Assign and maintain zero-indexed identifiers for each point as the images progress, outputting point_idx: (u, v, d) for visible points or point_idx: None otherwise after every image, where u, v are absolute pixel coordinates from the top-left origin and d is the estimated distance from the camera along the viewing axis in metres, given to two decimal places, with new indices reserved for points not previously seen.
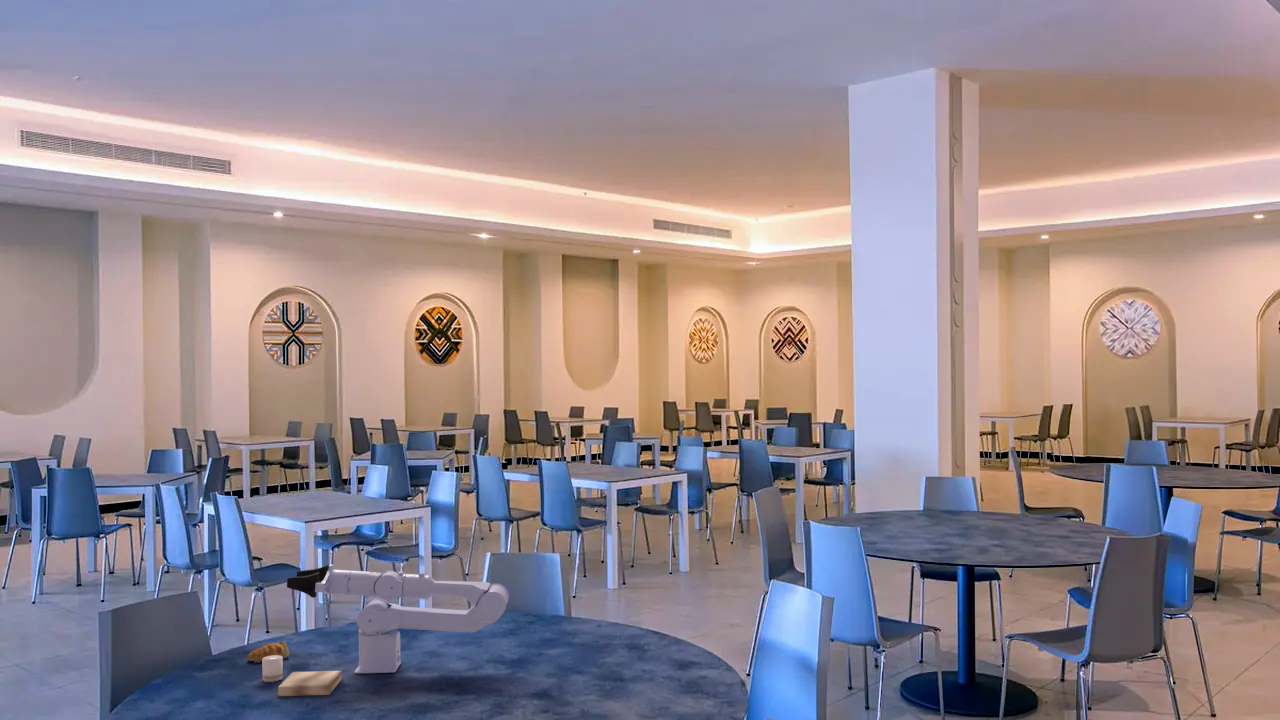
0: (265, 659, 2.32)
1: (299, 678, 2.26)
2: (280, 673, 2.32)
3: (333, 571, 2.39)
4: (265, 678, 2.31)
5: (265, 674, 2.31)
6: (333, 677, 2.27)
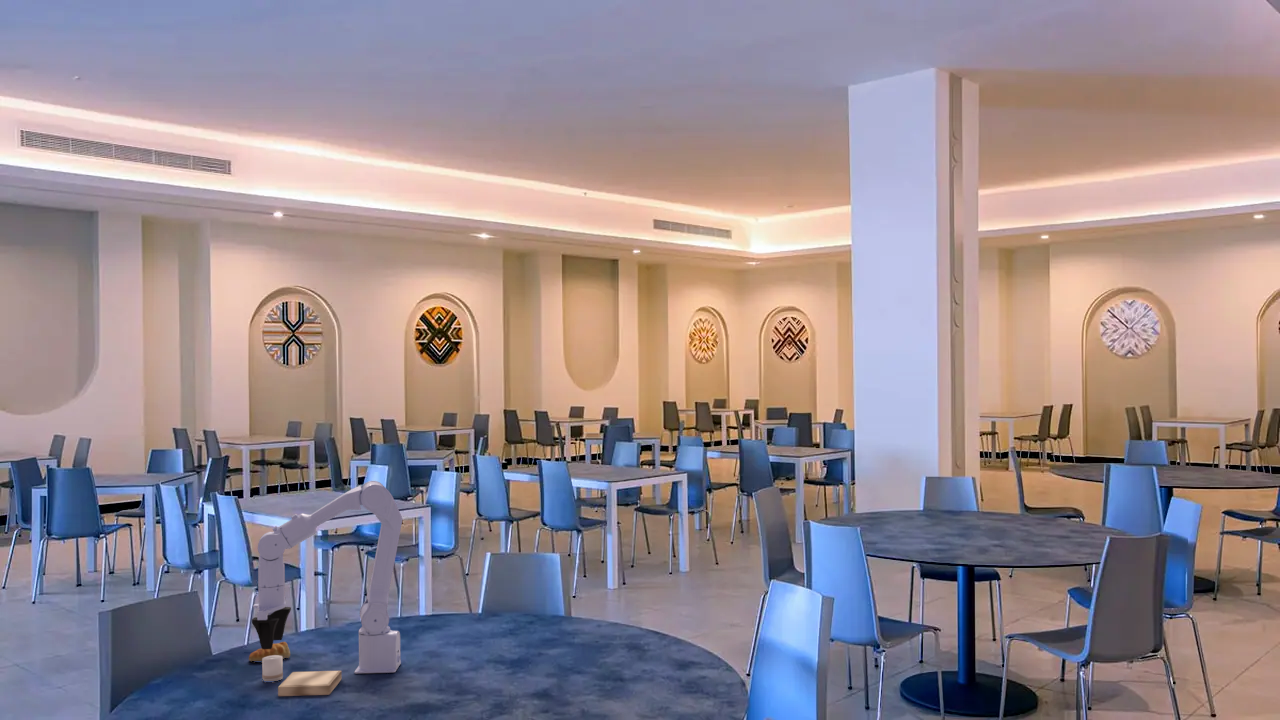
0: (265, 659, 2.32)
1: (299, 678, 2.26)
2: (280, 673, 2.32)
3: None
4: (265, 678, 2.31)
5: (265, 674, 2.31)
6: (333, 677, 2.27)
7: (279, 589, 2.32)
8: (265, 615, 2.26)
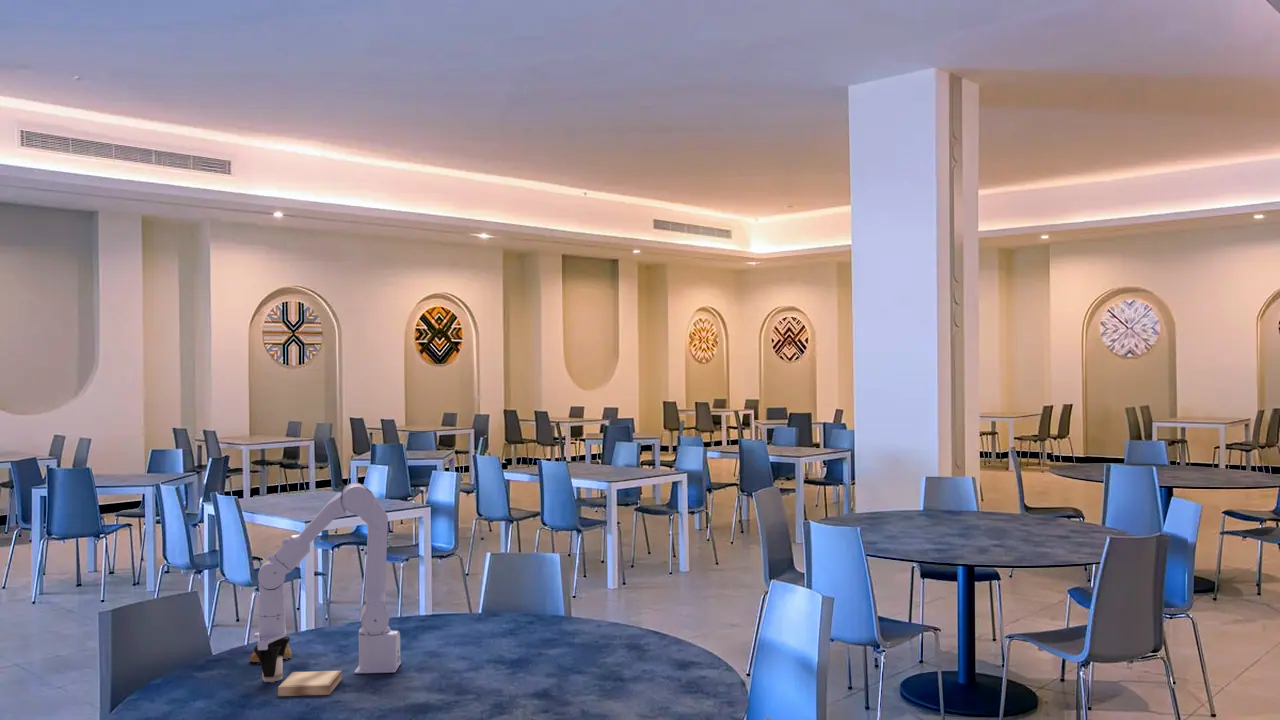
0: None
1: (299, 678, 2.26)
2: (280, 673, 2.32)
3: (259, 632, 2.32)
4: (265, 678, 2.31)
5: None
6: (333, 677, 2.27)
7: (279, 618, 2.31)
8: (265, 645, 2.26)
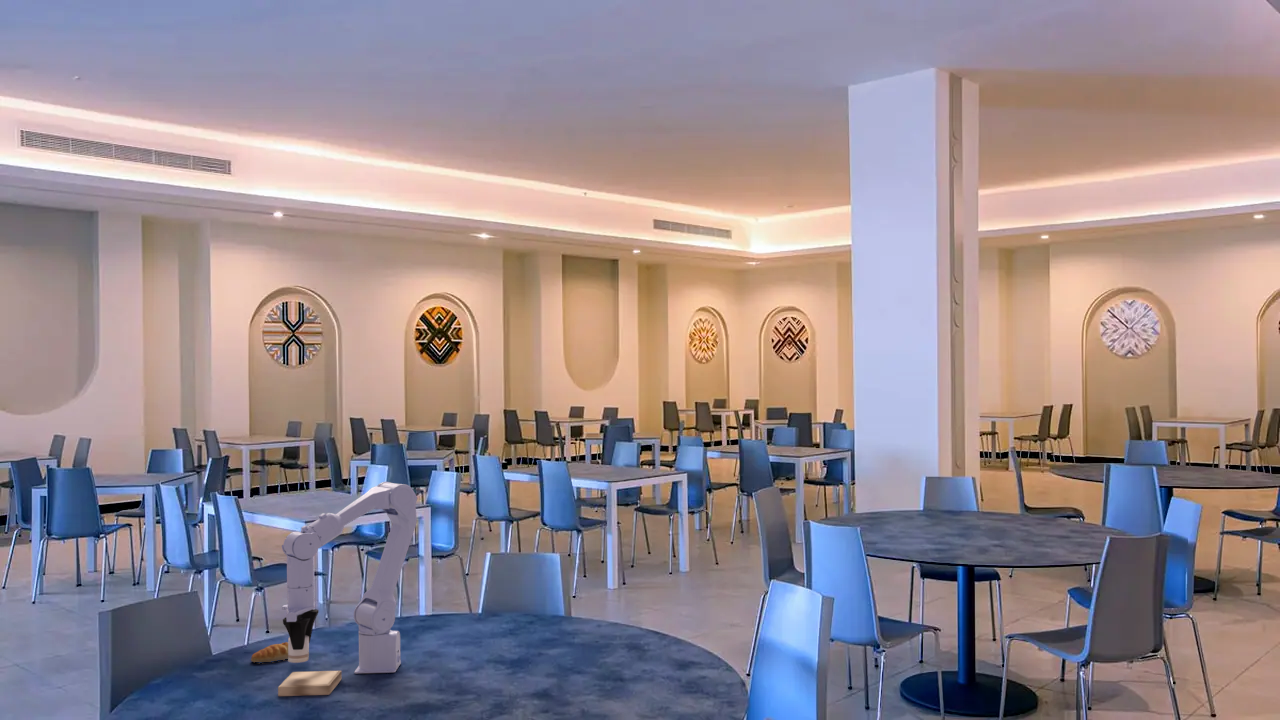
0: None
1: (299, 678, 2.26)
2: (305, 654, 2.27)
3: (287, 604, 2.27)
4: (289, 657, 2.26)
5: (290, 653, 2.26)
6: (333, 677, 2.27)
7: (308, 590, 2.27)
8: (294, 617, 2.21)
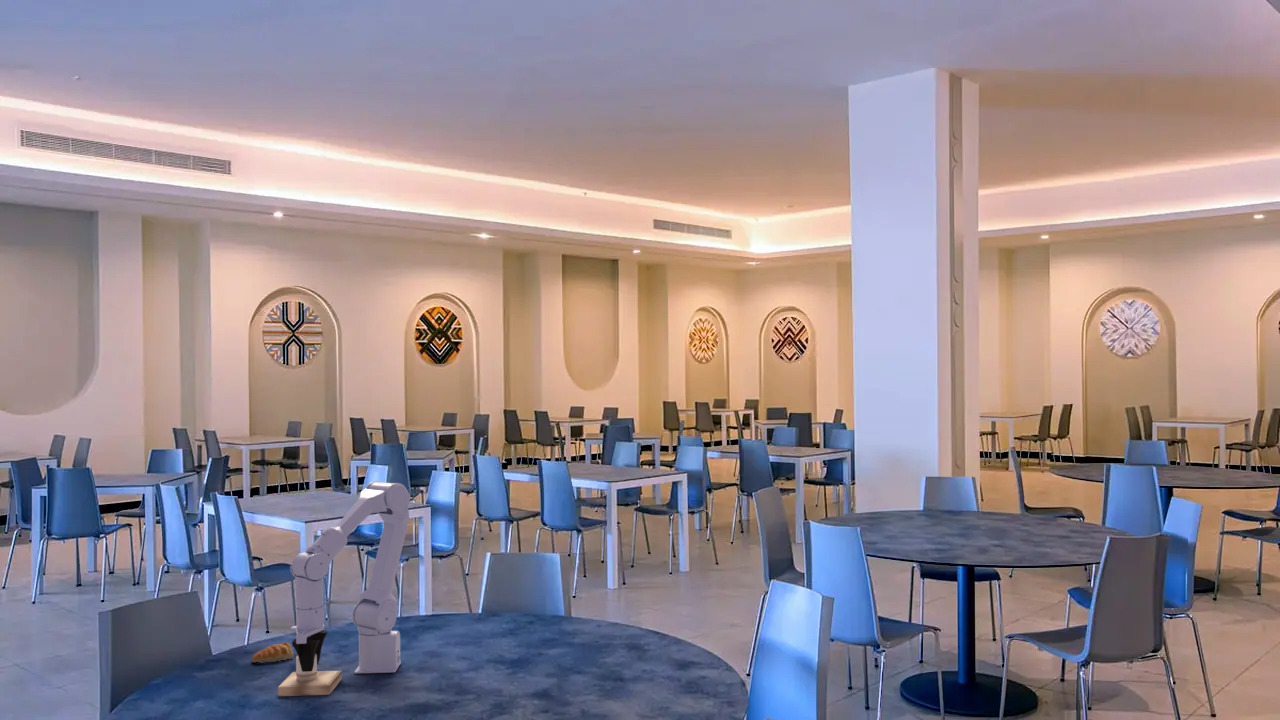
0: None
1: None
2: (313, 672, 2.25)
3: None
4: (298, 676, 2.24)
5: (298, 672, 2.25)
6: (333, 677, 2.27)
7: (318, 611, 2.25)
8: (304, 638, 2.19)
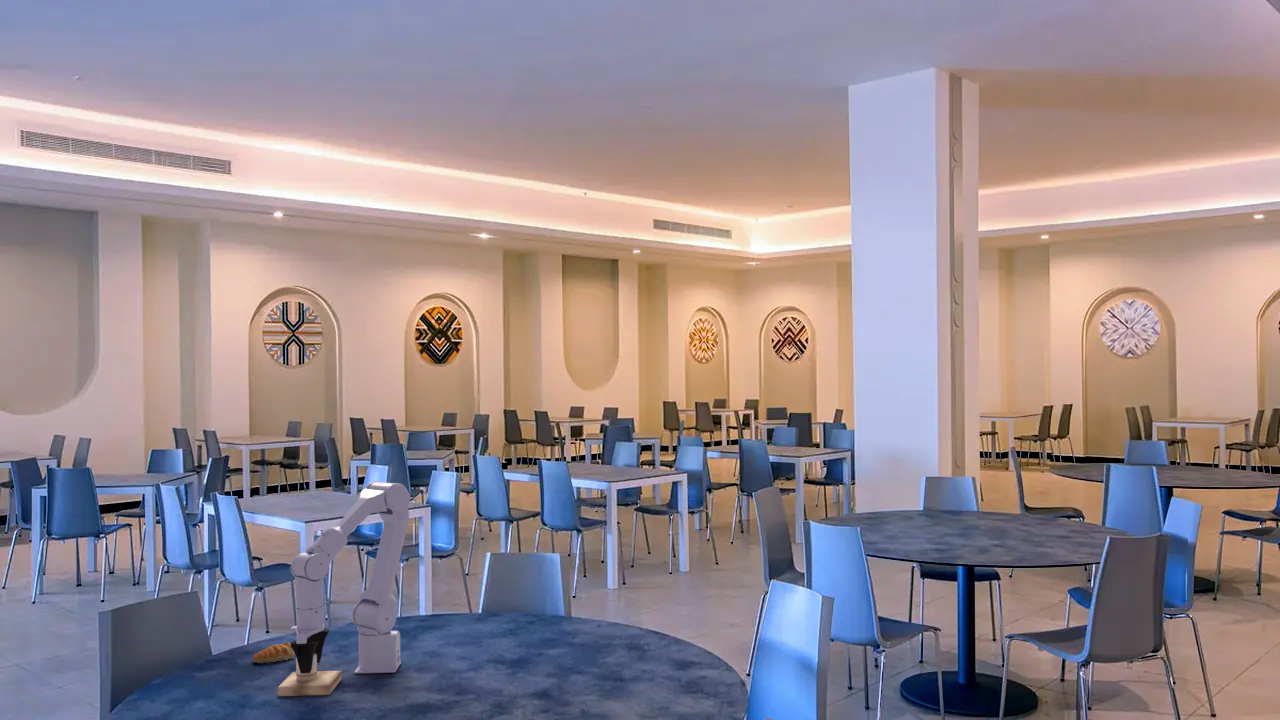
0: None
1: None
2: (313, 672, 2.25)
3: None
4: (298, 676, 2.24)
5: (298, 672, 2.25)
6: (333, 677, 2.27)
7: (318, 611, 2.25)
8: (304, 638, 2.19)
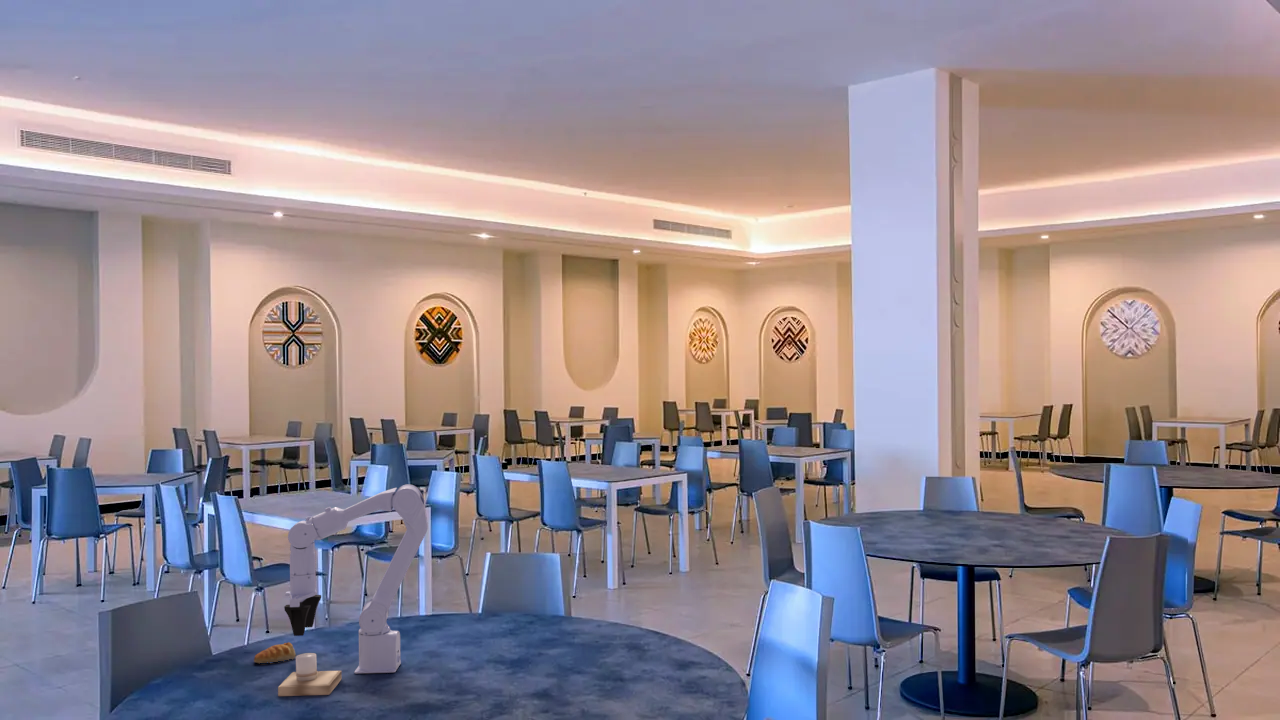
0: (298, 657, 2.25)
1: None
2: (313, 672, 2.25)
3: (290, 591, 2.36)
4: (297, 676, 2.25)
5: (298, 672, 2.25)
6: (333, 677, 2.27)
7: (310, 577, 2.36)
8: (297, 602, 2.30)
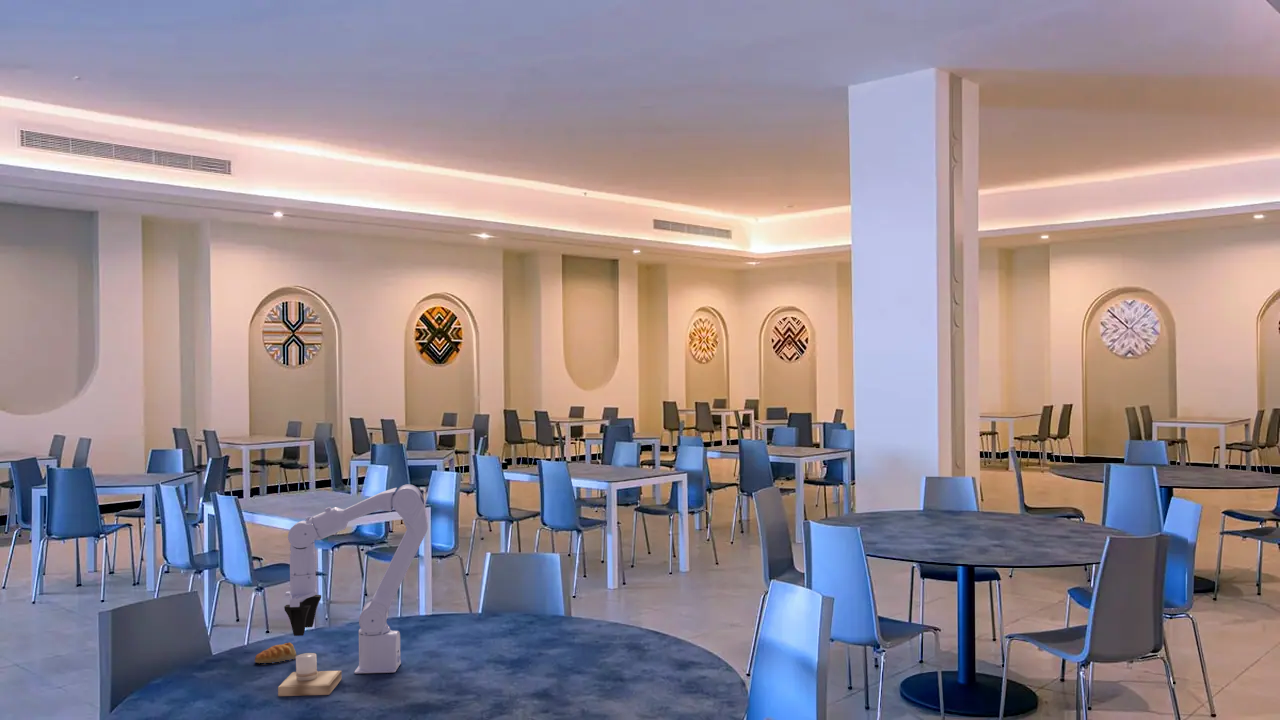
0: (298, 656, 2.26)
1: None
2: (313, 672, 2.25)
3: (290, 591, 2.36)
4: (297, 676, 2.25)
5: (298, 672, 2.25)
6: (333, 677, 2.27)
7: (310, 577, 2.36)
8: (297, 602, 2.30)
